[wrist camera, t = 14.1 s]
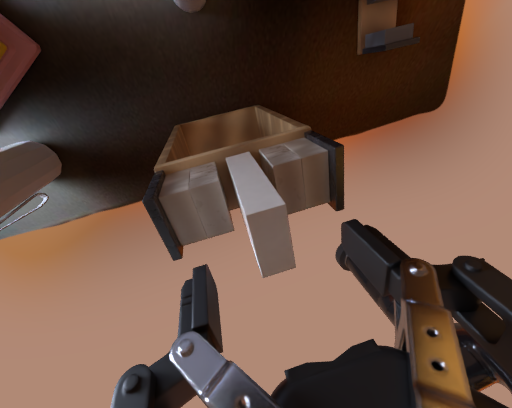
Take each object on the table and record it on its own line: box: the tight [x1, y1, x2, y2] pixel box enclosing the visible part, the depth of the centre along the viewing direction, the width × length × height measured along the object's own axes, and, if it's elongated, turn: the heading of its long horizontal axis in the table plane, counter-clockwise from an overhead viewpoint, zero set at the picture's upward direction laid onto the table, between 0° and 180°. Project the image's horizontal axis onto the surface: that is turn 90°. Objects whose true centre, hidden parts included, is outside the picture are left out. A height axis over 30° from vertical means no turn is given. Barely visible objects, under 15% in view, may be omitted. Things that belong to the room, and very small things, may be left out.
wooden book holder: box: [142, 125, 344, 261], centre depth 22 cm, size 16×7×7 cm, turn 102°
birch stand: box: [156, 105, 306, 165], centre depth 34 cm, size 16×7×22 cm, turn 102°
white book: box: [226, 152, 296, 278], centre depth 19 cm, size 2×5×11 cm, turn 12°
